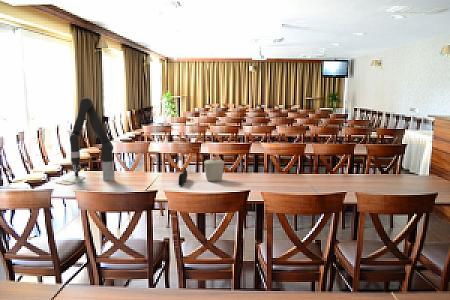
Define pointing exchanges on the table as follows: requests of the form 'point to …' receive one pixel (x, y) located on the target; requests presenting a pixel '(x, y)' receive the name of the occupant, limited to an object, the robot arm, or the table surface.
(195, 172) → the table surface
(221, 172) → the canister
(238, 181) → the table surface
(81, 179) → the sage plank
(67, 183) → the ash board
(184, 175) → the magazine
